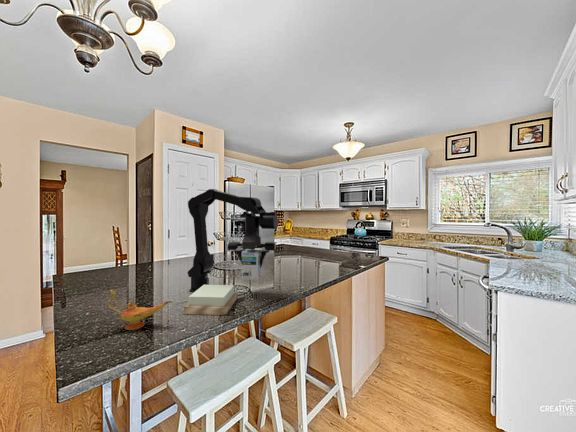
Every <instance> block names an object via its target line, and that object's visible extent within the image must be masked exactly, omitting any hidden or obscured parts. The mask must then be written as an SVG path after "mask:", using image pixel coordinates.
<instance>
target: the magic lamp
mask: <svg viewBox="0 0 576 432" xmlns="http://www.w3.org/2000/svg"><path fill="white" fill-rule="evenodd" d="M116 294H117V293H116V291H115V290H113V289H110V293H109V295H110V298H109V300H108V302H107V307H108V308H110V309H111V310H113V311H114V312H117V313H118V314H120V317H119V318H118V317H116V319H117V320H120V319H121V320H123V321H124V322H129V323H128V324H126V325H125V327H124V329H125V330H129V331H131V330H138V329H140V328H142V327H143V326H145V322H143V321H141V320H143V319H145V318H148V317H150V316H152V315H154V314H155V313H157V312H158V311H160V310H162V308H164V307H165V306H166V305H168V304H170V303H173V301H172V300H169V301H165V302H162V303H160V304H157V305H156V306H151V307H146V306H145V307H144V306H137V305H136V304H134V303H133V300H131V301H129V304H128V305H126V306H123V307H121V306H120V304H118V301H117V299H116ZM111 300H114V302H115V303H114V304H115V305H116V306H117V307H118V308H119V309H121V310H123V311H120V310H118V309H116V308H113V307H111V306H110V302H111ZM124 309H125V310H124Z"/></svg>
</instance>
